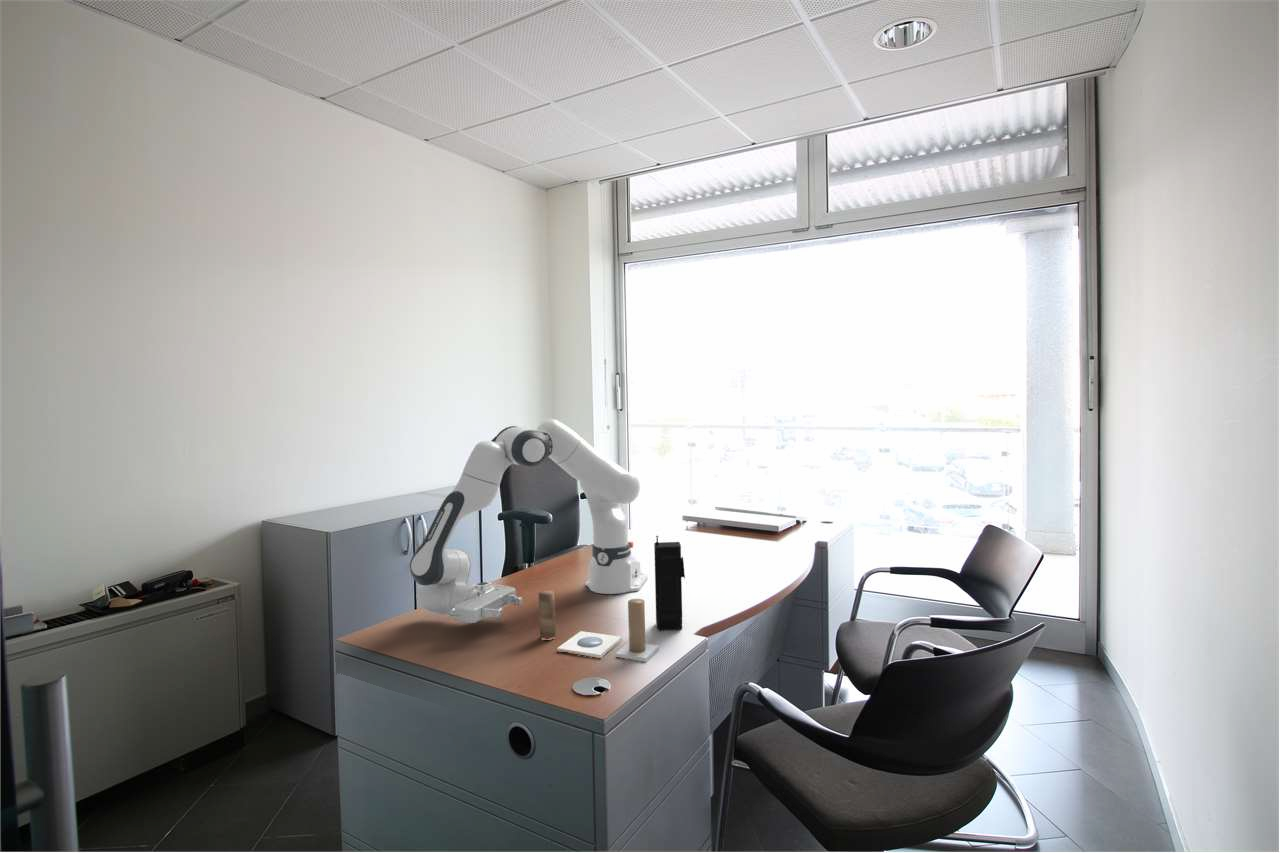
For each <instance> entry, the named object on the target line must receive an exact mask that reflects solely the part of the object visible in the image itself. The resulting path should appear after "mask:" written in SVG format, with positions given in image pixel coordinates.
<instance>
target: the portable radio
mask: <svg viewBox="0 0 1280 853" xmlns="http://www.w3.org/2000/svg"><path fill="white" fill-rule="evenodd" d="M655 537H656V542H654V544H653V545H654V547H653V548H654V583H655V584H654V588H655V591H654V592H655V623H656V624H655V625H656V629H658V630H659V631H672V630H673V631H675V630H676V631H677V630H678V631H679V630H682V629H683V595H682V594H683V591H682V589H683V588H682V587H683V586H682V585H683V584H682V582H683V581H682V578H683V579H686V576H685V564H684V563H685V562H684V557H683V556H682V546H681V543H680V541H670V542H669V541H668V542H667V541H666V542H665V541H664V542H659V540H658V539H659V535H655Z"/></svg>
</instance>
